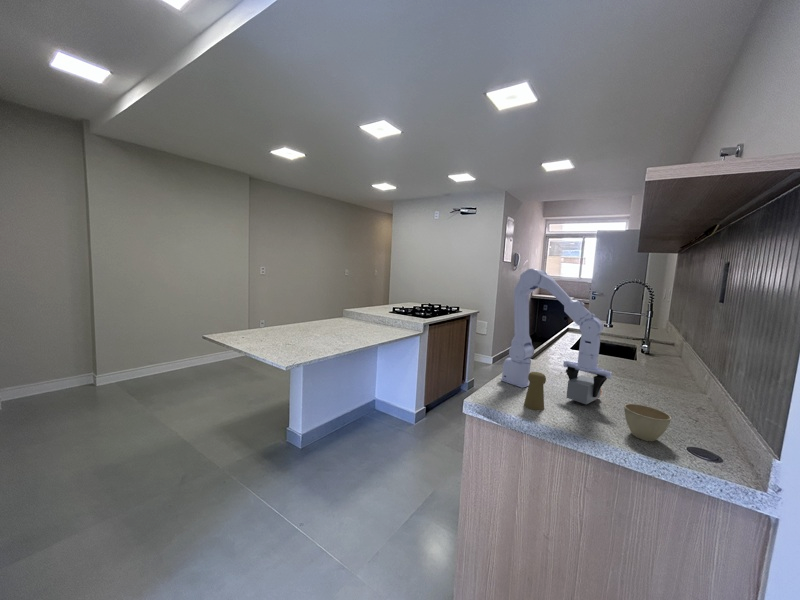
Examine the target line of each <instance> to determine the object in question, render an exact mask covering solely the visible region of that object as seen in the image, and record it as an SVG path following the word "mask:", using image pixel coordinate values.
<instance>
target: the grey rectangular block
mask: <svg viewBox="0 0 800 600" xmlns="http://www.w3.org/2000/svg"><path fill="white" fill-rule="evenodd" d="M593 389H594V377H589V376H586V375H578V376H577V377H576V378H573V379H571V380H569V379H568V380H567V387H566V399H569V400H572V401H574V402H578V403H580V404H582V405H583V404H584V405H588V404H590V403H592V402H594V401H596V400H597V399H600V397H601V395H600V390H599V392H598V395H597V397H593ZM600 389H601V390H602V387H601V388H600Z"/></svg>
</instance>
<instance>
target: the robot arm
mask: <svg viewBox="0 0 800 600" xmlns="http://www.w3.org/2000/svg"><path fill="white" fill-rule="evenodd" d="M538 288H539V289H540V288H541V289H544V290H547V291H548V292H549V293H550V294H551V295H552V296H554V298H555V299H556V300H558V302H560V303H561V304H562V306H563V309H564V310H563V311H564V313H565V314H566V315H567V316H568V317H569V318H570V319H571V320H572V321H573V322H574V323H575V324H576V326H579V331H580V333H581V335H580V341H579V349H578V355H577V356H578V357H577V362H576V361H575V362H574V361H569V360H564V361H563V366H562V367H563V368H566V369H565V373H566V375H567V377H568V380H571V379H573V378H576V377H579V371H580V372H585V373H588V374H591V375H595V376H593V378H594V389H593V397H597V395H598V392H599V390H600V388H601V389H602V386H603V385H604V383H605V382H606V381H607V380H610V379H612V377H613V372H612V371H608V370H606V369H603V368H601V367H598V362H599V354H600V347H601V333H602V332H603V330H604V323H603V322H602V320H601V319H600V318H598V317H596V314H594V313H591V311H589V310H588V308H586V307H585V305H586V304H585V303H584V302H583V301H581V302H580V301H579V300H577V299H572V298H571V297H570V295H569V294H567V292H566V291H565V290H564V289H563V288H562V287H561V286H560V285H559V284H558V282H557V281H556V280H555V279H554V278H553V277H552V276H551V275H549V274H548V273H547V272H546V271H545V270H543V269H535V268H528V269H526V270H525V271H524V272H522V273H521V274H520V275H519V280H518V281H517V284H516V285H515V287H514V290H513V314H514V315H513V316H514V321H513V322H514V330H513V331H514V336H513V337H512V340H511V341H510V342H511V344H510V345H511V346H510V347H509V350H508V355H509V357H507V358H505V360H504V361H503V363H502V364H503V365H502V374H501V379H500V381H502V382H505V383H508V384H510V385H513V386H516V387H519V388H521V389H522V388H525V387H528V386H529V380H528V375H529V373H531V365H532V364H531V363H532V360H531V358H532V357H533V356H534V354H535V348H534V346H533V343H532V342H533V341H532V338H531V336H530V294H531V293H533V291H535V290H537V289H538Z"/></svg>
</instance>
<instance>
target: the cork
mask: <svg viewBox="0 0 800 600" xmlns="http://www.w3.org/2000/svg"><path fill="white" fill-rule="evenodd" d="M528 380H529V386H527V387H528V388H527V390H526V391H527V392H526V395H525V399H524V403H523V406H524V407H525V406H526V407H525V408H527V409H529V408H530V409H529V410H532V411H537V410H542V411H544V410H545V393H544V392H545V391H544V386H545V384H546V381H547V377H546V375H545V374H544V373H542V372H537V371H530V373H529V375H528ZM543 409H544V410H543Z"/></svg>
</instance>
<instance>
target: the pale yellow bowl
mask: <svg viewBox="0 0 800 600" xmlns="http://www.w3.org/2000/svg"><path fill="white" fill-rule="evenodd" d="M623 408H624V416H625V421H626V424H627V425H628V428H629V431H630V433H631V435H633V436H634V437H635V438H638V439H640V440H642V441H645V442H654V441H655V442H656V441H657V440H658V439H659V438H660V437H661V436H662V435H663V434H664V433H665V432H666V430H667V428H668V427H669V425H670V423H671V420H672V417H671V415H670V414H668V413H667V412H664V411H663V410H660V409H658V408H654V407H652V406H648V405H643V404H637V403H625V404H624V407H623Z"/></svg>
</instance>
